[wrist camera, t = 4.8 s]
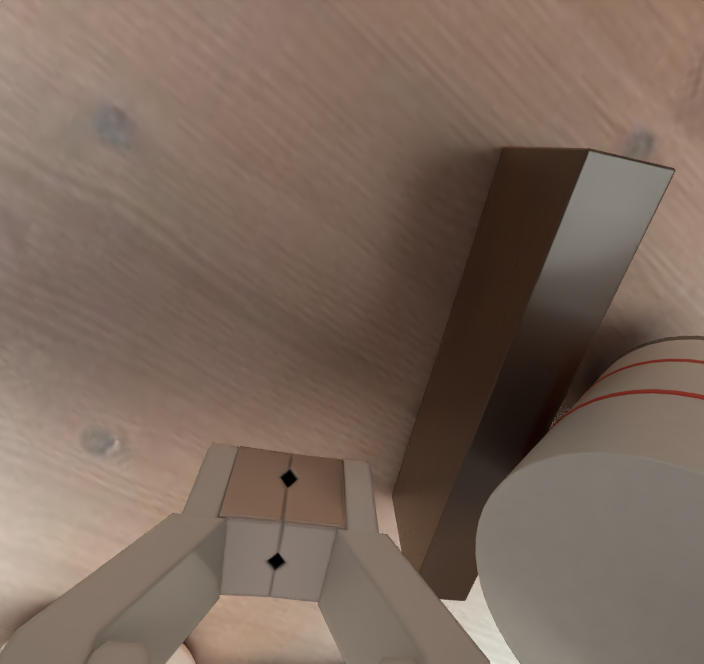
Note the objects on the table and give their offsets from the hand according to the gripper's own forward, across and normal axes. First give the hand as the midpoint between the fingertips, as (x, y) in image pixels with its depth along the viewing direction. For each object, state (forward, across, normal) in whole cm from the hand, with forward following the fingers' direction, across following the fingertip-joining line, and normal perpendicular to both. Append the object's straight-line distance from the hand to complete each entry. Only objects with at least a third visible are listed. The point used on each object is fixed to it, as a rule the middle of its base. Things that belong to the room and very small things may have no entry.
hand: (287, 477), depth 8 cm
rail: (+7, -6, 0) cm, 9 cm away
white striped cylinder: (+7, -10, 0) cm, 12 cm away
